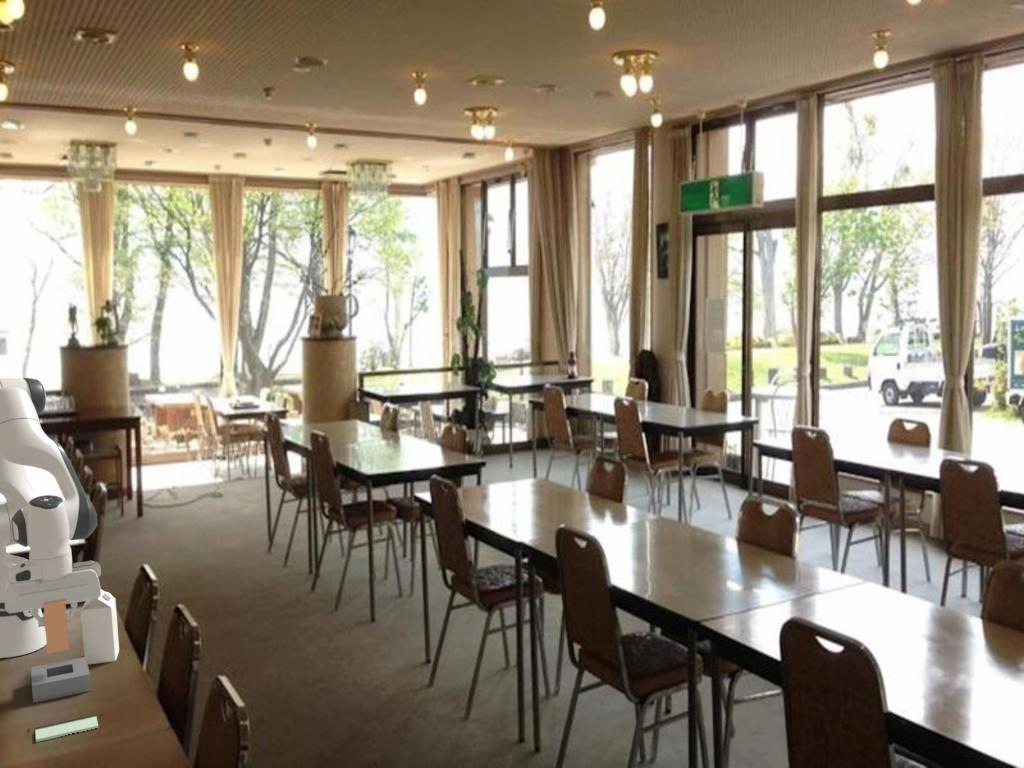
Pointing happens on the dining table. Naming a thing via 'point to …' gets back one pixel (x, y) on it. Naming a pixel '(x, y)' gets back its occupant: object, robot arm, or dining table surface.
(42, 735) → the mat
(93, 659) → the milk carton
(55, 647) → the block
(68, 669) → the holder
